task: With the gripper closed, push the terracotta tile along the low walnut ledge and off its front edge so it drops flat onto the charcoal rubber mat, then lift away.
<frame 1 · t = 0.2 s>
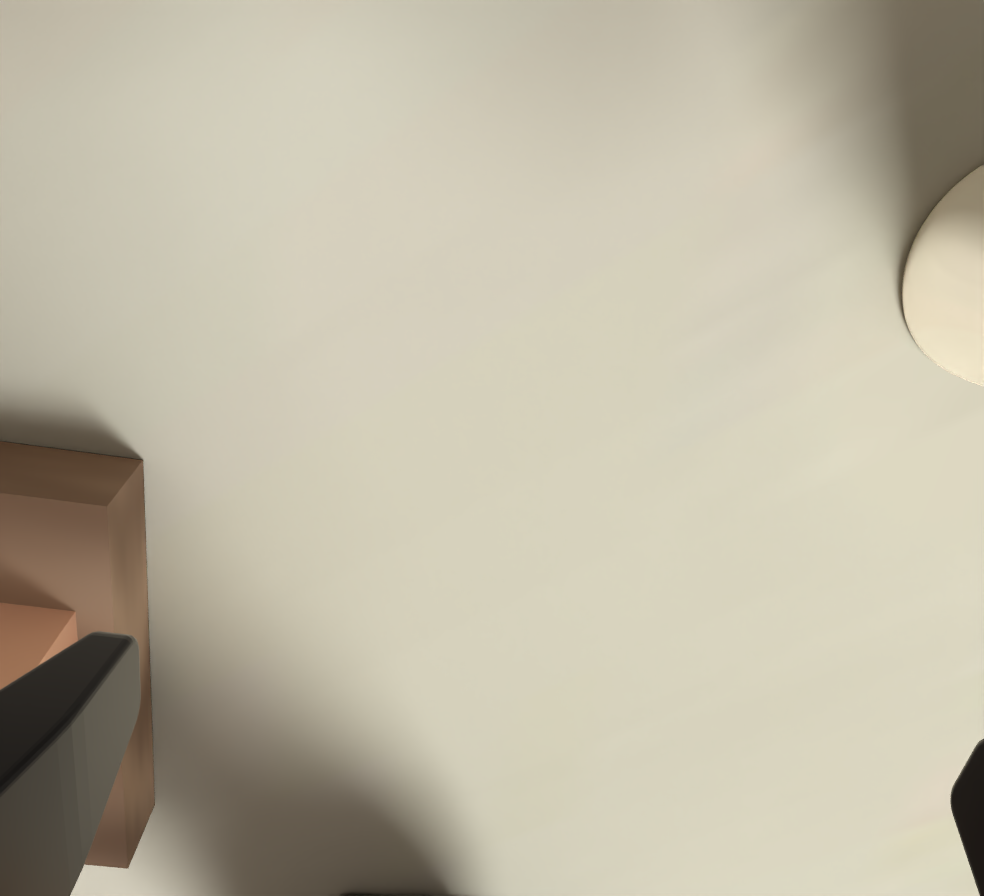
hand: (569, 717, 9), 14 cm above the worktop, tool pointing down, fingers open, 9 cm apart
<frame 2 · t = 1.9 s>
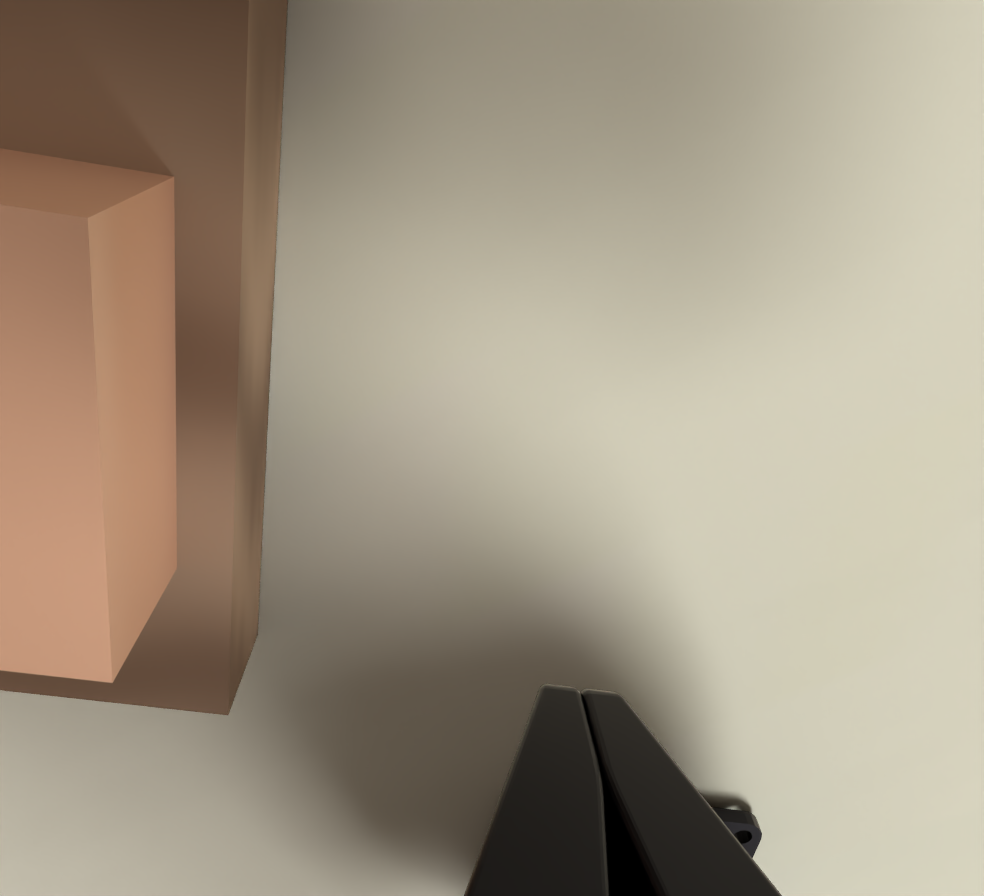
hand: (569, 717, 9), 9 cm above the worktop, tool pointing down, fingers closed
walnut ledge: (2, 311, 16), on the worktop
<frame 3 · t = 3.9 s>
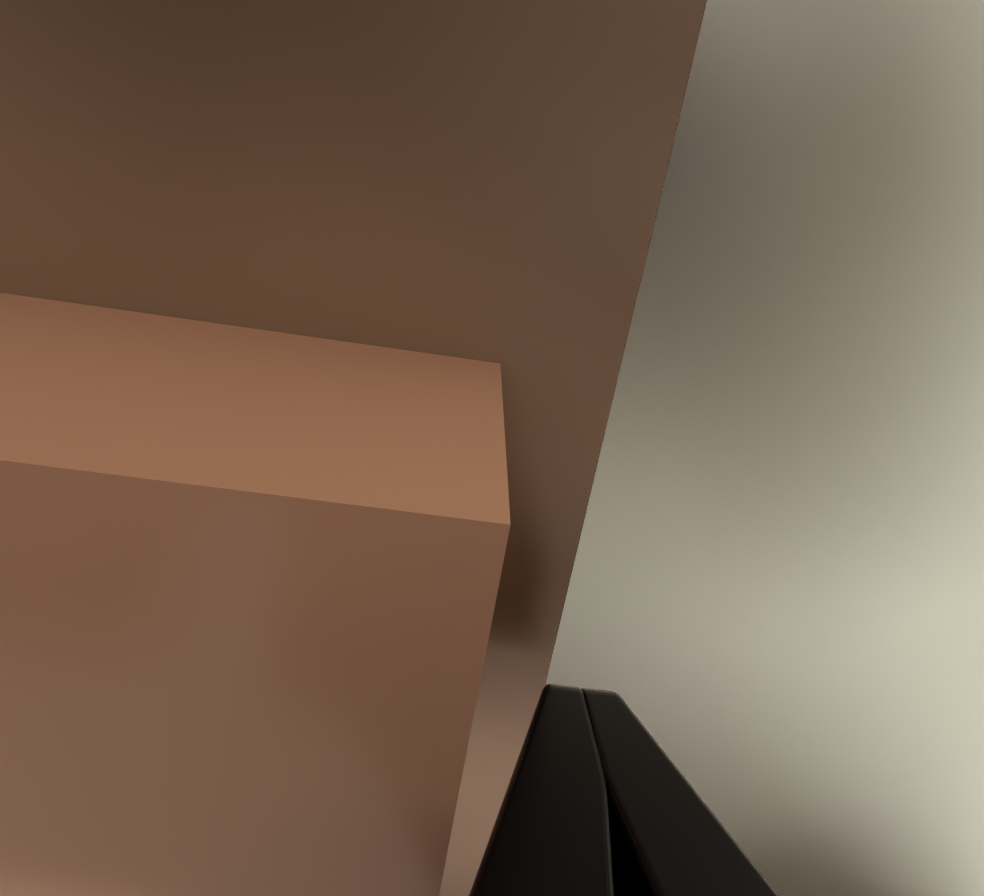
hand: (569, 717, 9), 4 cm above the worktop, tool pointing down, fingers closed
walnut ledge: (186, 495, 12), on the worktop
terracotta tile: (99, 603, 9), point 3 cm above the worktop, touching gripper
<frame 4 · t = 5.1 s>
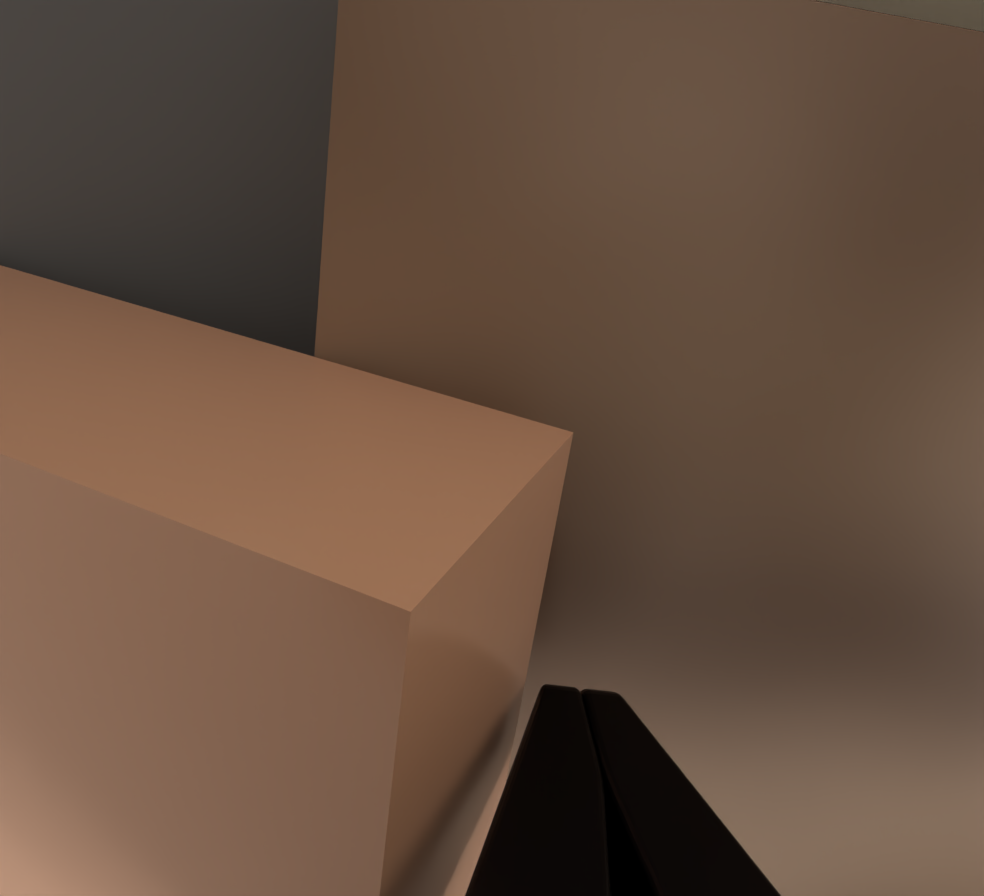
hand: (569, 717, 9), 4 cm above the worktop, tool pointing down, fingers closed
walnut ledge: (673, 556, 12), on the worktop
terracotta tile: (209, 603, 10), point 2 cm above the worktop, tilted 24°, touching gripper
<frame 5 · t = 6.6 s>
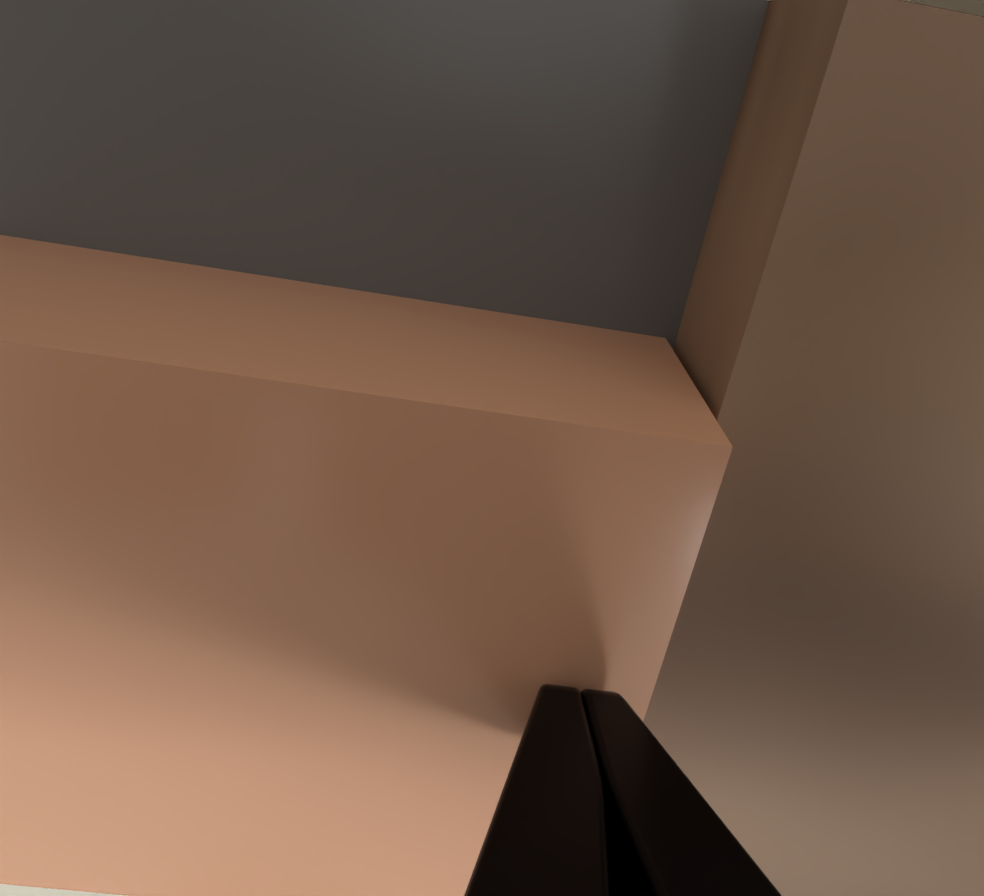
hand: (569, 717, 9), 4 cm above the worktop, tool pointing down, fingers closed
walnut ledge: (937, 589, 12), on the worktop
charcoal mat: (260, 500, 12), on the worktop
terracotta tile: (316, 535, 11), resting on charcoal mat
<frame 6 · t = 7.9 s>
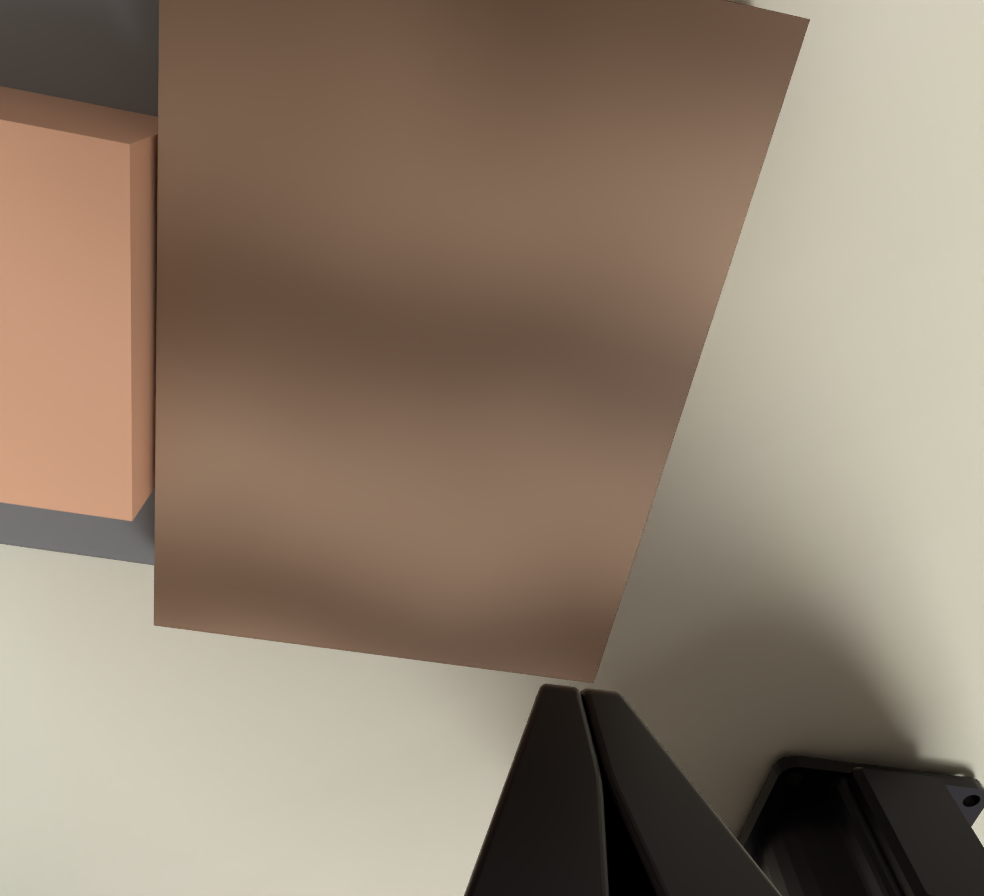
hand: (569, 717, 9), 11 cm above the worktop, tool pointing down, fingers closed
walnut ledge: (432, 328, 18), on the worktop
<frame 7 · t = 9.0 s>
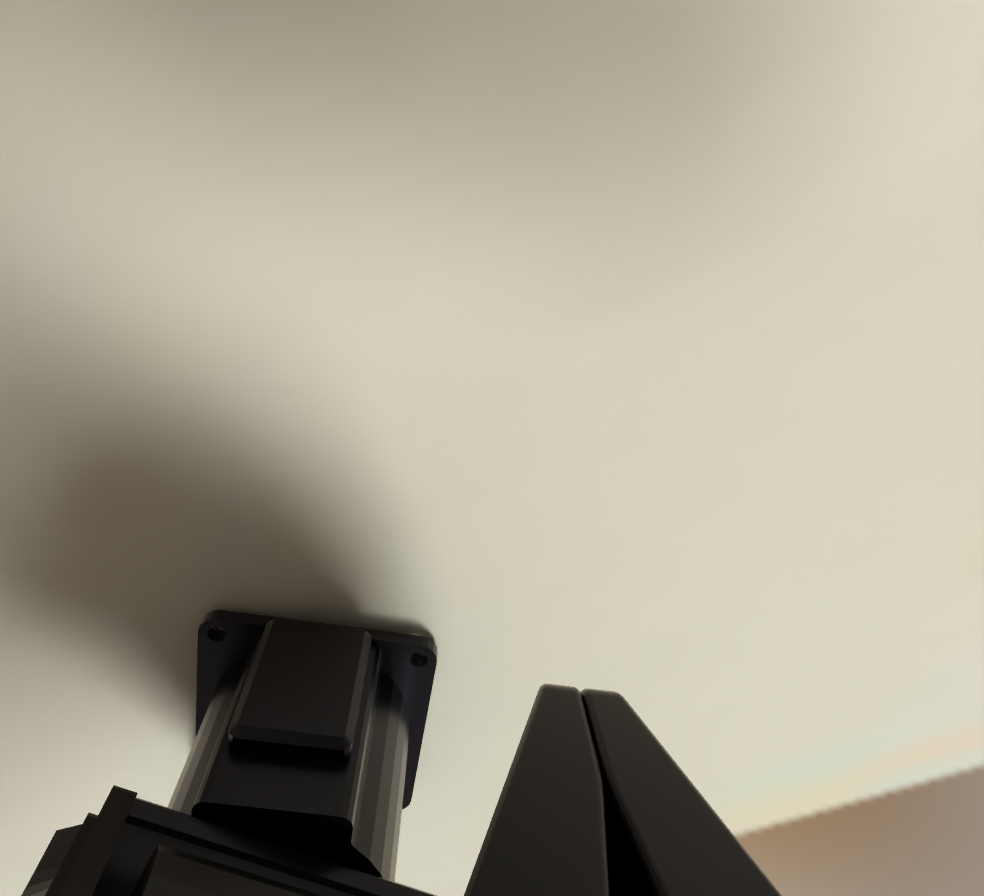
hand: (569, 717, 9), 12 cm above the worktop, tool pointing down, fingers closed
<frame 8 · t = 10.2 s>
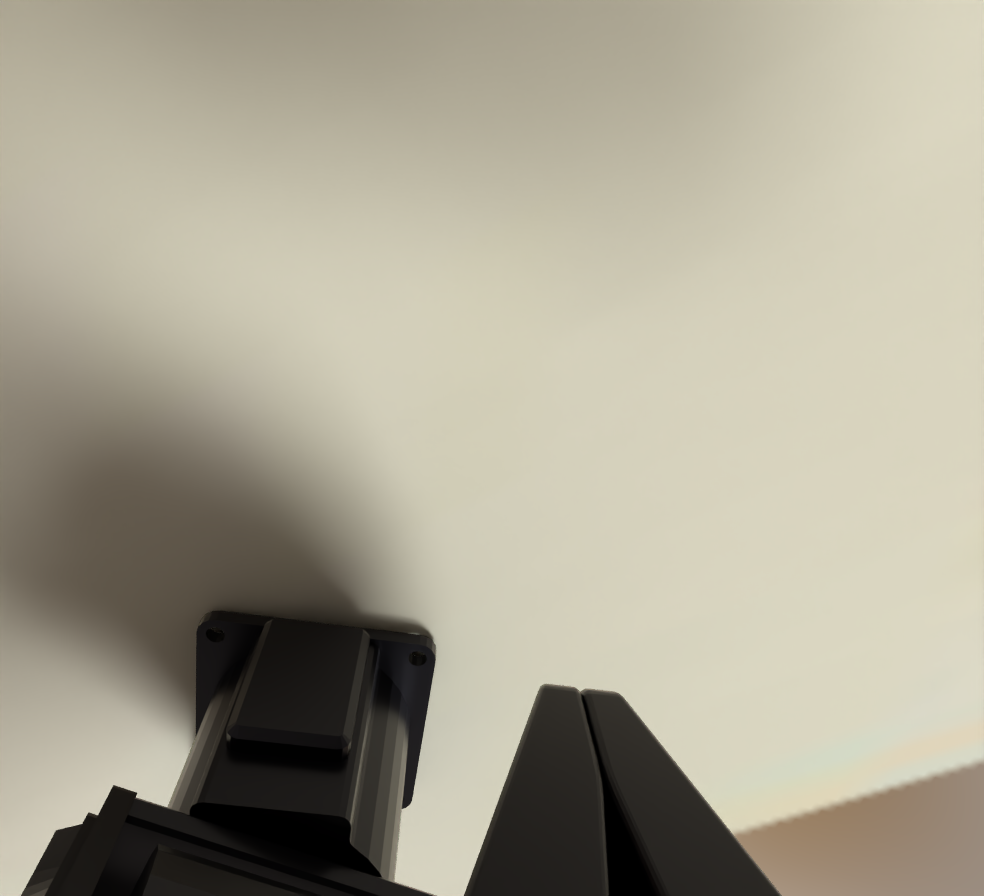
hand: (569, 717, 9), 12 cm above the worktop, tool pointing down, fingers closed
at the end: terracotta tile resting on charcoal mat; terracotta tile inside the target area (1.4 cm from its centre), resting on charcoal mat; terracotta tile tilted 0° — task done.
